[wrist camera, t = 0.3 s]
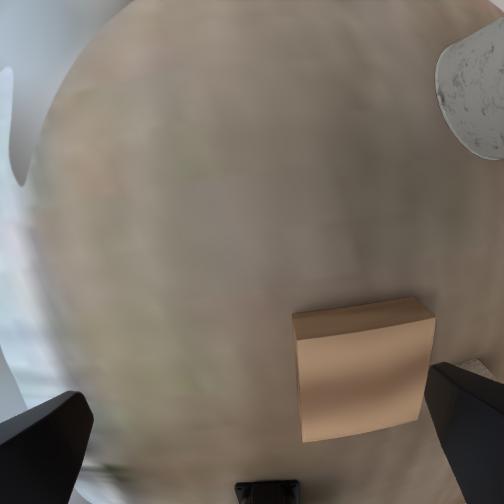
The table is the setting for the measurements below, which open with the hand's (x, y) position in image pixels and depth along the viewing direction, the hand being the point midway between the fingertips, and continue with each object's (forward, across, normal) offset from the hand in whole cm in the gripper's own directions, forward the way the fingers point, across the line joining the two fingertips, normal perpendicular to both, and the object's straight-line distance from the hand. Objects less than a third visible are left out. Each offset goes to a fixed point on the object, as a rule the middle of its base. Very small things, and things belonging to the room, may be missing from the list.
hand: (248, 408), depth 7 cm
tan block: (+15, -6, +9) cm, 18 cm away
